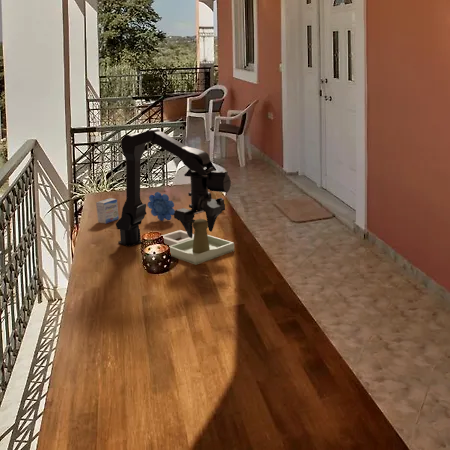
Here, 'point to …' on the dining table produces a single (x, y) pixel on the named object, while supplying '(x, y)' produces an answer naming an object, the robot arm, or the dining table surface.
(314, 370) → the dining table surface
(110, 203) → the medicine box
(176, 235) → the socket block
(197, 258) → the parts tray
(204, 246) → the cork
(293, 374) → the dining table surface
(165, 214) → the blue bumpy cluster
